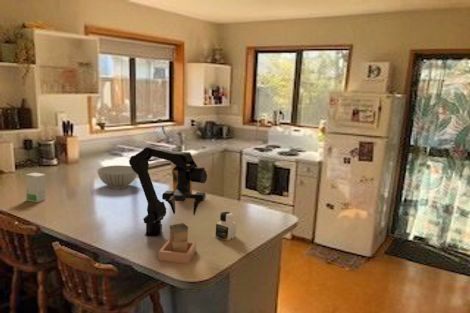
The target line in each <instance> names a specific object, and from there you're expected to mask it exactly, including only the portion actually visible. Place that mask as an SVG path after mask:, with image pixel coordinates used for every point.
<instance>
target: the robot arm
mask: <svg viewBox="0 0 470 313" xmlns="http://www.w3.org/2000/svg"><path fill="white" fill-rule="evenodd" d="M188 152H189V151H186V152H185V151H177V152H176V151H171V150H169V149H168V150H167V149H163V148H159V147H155V146H154V145H153V146H152V145H151V146H146V147H144V148H143V149H142V150H141V151H139V152H137V153H136V154H135V155H132V156H130V158H129V160H128V164H129V166H131V168H132V169H133V171H134V172H136V173H137V177H138V178H139V179H138V180H139V182H140V184H141V187H142V191H143V194H144V196H145V200H146V203H147V208H146V211H147V215H146V216H144V217H143V223H144V224H145V225H146V226H145V233H144V236H147V237H155V238H156V237H157V238H158V237H159V236H160V235H161V234H162V233H163V224H162V221H163V220H164V217H165V216H166V215H167V208H166V205H165V202H167V203H168V204H169V206H170V207H171V208H170V209H171V210H172V214H173V215H175V214H176V202H186V200H187V199H194V201H193V211H192V212H193V216H195V215H196V213H197V211H198V207H199V204H201V203H202V202H204V201H205V200H206V197H207V195H206V193H205V191H204V192H200V191H197V192H196V193H195V194H194V193H192V194H191V182H192V183H198V184H205V183H206V182H207V179H208V174H207V171H206V170H205V167H198V165H197V163H196V161H195V160H194V158H193V156H192V153H191V152H190V153H191V154H190V153H188ZM152 157H153V158H156V159H160V160H164V161H168V162H170V163H171V162H172V163H173V164H175V165H176V167H175V168H174V169H173V170H175V171H177V172H178V184H177V188H176V191H175V193H174V191H173V190H166V191H164V192H163V193H162V195H161V196H162V198H161V199H162V200H165V201H160V200H159V198H158V196H157V193H156V190H155V187H154V184H153V182H152V178H151V176H150V173H149V160H151V159H152ZM189 164H190V165H189ZM187 165H189V166H187ZM190 181H191V182H190Z"/></svg>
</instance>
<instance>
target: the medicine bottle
mask: <svg viewBox="0 0 470 313" xmlns="http://www.w3.org/2000/svg"><path fill="white" fill-rule="evenodd" d="M236 230H237V222H235V221H234V214H233V213H232V212H231V211H222V212H221V213H220V217H219V221H218V222H216V223H215V237H216V238H218V239H220V240H224V241H231V238H232V239H233V238H235V237H236V234H237V231H236Z"/></svg>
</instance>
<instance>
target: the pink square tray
mask: <svg viewBox="0 0 470 313" xmlns="http://www.w3.org/2000/svg"><path fill="white" fill-rule="evenodd" d="M169 240H170V238H168V240H166V241H165V243H164V244H163V245H162V247H161V248H160V249H159V250H158V261H160V262H168V263H175V264H183V265H189V264H190V262H191V260H192V259H193V257H194V255H195V254H196V251H197V242H195V241H188V240H187V253H180V252H172V251H169Z"/></svg>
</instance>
